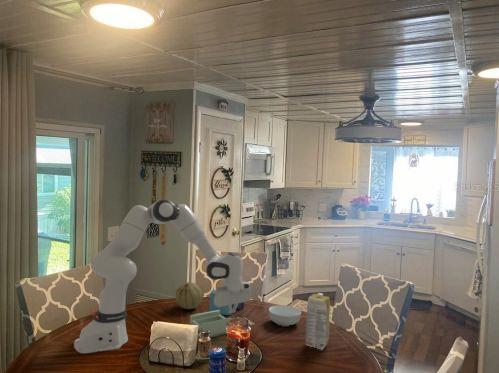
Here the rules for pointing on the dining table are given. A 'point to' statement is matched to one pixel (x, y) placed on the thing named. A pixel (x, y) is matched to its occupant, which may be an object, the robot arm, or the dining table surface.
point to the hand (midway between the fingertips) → (232, 312)
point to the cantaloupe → (188, 295)
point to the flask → (239, 306)
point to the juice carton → (317, 321)
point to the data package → (223, 310)
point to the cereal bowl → (284, 315)
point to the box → (210, 322)
